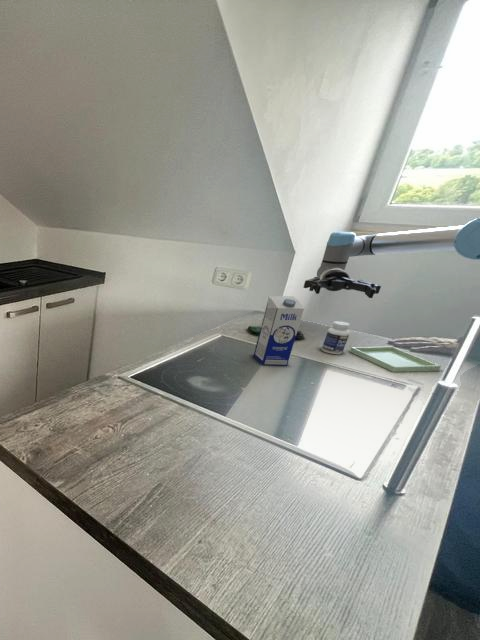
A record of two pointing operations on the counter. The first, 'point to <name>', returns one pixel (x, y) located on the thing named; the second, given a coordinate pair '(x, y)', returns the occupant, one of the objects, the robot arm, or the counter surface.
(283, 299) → the milk carton
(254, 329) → the gun
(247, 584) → the counter surface
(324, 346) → the pill bottle
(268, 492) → the counter surface
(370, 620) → the counter surface
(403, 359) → the tray
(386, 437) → the counter surface
